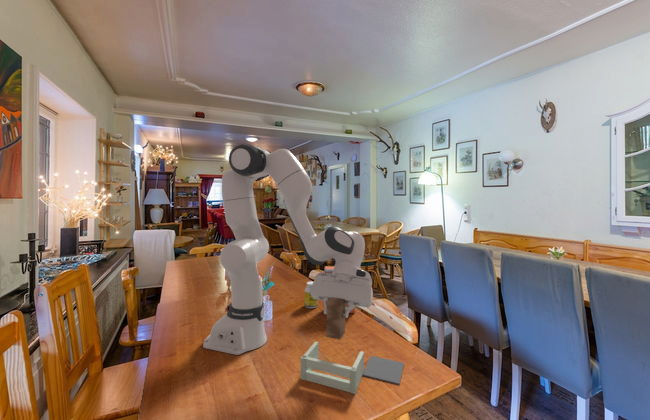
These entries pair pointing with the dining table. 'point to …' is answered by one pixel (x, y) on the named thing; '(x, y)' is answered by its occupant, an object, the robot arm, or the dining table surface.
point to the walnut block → (335, 318)
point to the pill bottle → (310, 297)
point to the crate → (331, 371)
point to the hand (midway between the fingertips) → (335, 315)
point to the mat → (384, 369)
